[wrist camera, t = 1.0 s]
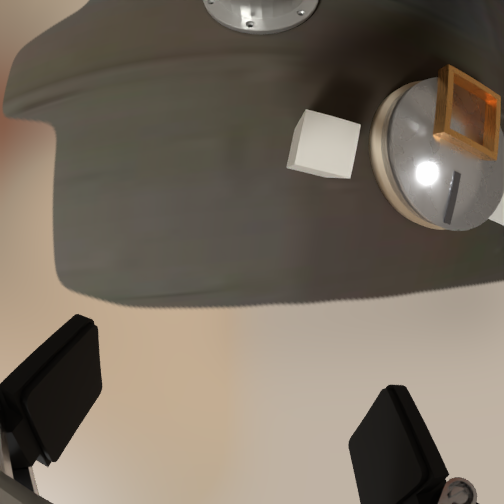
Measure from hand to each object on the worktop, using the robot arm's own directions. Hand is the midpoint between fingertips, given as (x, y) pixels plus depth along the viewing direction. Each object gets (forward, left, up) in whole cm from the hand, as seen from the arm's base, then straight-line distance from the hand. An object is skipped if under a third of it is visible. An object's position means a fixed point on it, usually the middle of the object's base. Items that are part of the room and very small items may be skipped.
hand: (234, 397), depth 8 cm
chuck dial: (-14, +17, -20) cm, 29 cm away
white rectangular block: (-10, +3, -22) cm, 25 cm away
